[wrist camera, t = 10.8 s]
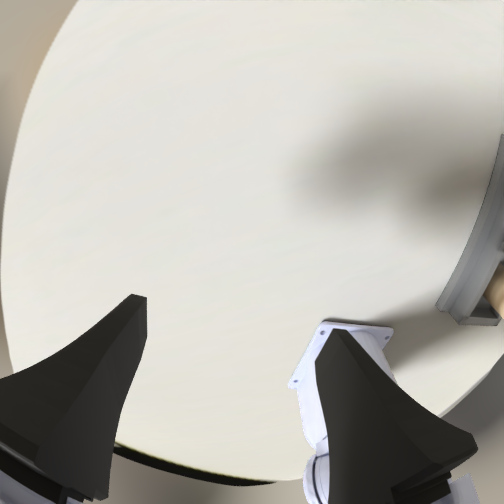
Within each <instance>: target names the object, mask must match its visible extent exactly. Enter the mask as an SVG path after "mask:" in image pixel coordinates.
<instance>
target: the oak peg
mask: <svg viewBox="0 0 504 504" xmlns="http://www.w3.org/2000/svg"><path fill="white" fill-rule="evenodd" d="M482 296H483V297H484V298H485V299H486V300H487V301H488V302H489V303H490V304H491V306H492V307H493V308H494V309H495V310H496V311H497V312H498V313H499V314H500V316H501V317H502V318H503V319H504V266H503V265H502V264H501V263H499V264H498V266H497V268H496V270H495V272H494V274H493V276H492V278H491V280H490V282H489V284H488V285H487V287H486V289H485V291H484V293H483V294H482Z"/></svg>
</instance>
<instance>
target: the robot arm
mask: <svg viewBox="0 0 504 504" xmlns="http://www.w3.org/2000/svg"><path fill="white" fill-rule="evenodd" d="M321 331H323V332H321ZM393 333H394V330H393V329H392V328H389V327H377V326H365V325H355V324H345V323H336V322H327V321H325V322H322V323H320V325H319V326H318V328H317V330H316V332H315V334H314V336H313V338H312V340H311V342H310V344H309V346H308V348H307V350H306V352H305V354H304V355H303V357H302V359H301V361H300V363H299V365H298V367H297V368H296V370H295V372H294V374H293V376H292V377H291V379H290V381H289V383H288V388H290V389H297V394H298V400H299V406H300V412H301V419H302V425H303V432H304V435H305V438H306V440H307V441H308V443H309V444H310V445H311V446H312V447H313V448H314V449H315V450H316V454H315V455H313V456H311V457H310V459H309V460H308V462H307V465H306V467H305V470H304V474H303V486H304V492H305V495H306V498H307V501H308V503H309V504H480V502H479V499H478V496H477V492H476V489H475V486H474V483H473V480H472V477H471V475H470V473H467V474H466V475H464V476H462V477H461V478H459V479H457V480H455V481H453V482H452V479H451V473H450V471H451V470H452V469H454V468H455V467H457V466H459V465H460V464H462V463H463V462H465V461H466V460H467V459H469V458H470V457H471V456H473V455H474V454H475V453H476V452H477V450H478V447H477V444H476V442H475V440H474V438H473V436H472V434H471V433H468V432H466V431H464V430H461V429H459V428H457V427H455V426H453V425H451V424H449V423H447V422H446V421H444V420H442V419H440V418H439V417H437V416H436V415H434V414H433V413H431V412H430V411H428V410H427V409H426V408H424V407H423V406H421V405H420V404H419V403H417V402H416V401H415V400H414V399H413V398H411V397H410V396H409V395H408V394H407V393H406V392H404V391H403V390H402V389H401V388H400V387H399V386H398V384H397V382H396V380H395V377H394V375H393V373H392V371H391V369H390V366H389V364H388V362H387V360H386V358H385V356H384V354H383V351H382V350H383V348H384V347H385V346H386V344H387V343H388V341H389V340H390V338H391V337H392V335H393ZM146 339H147V297H143V296H139V295H134V294H131V295H129V296H128V297H127V298H126V299H124V300H123V301H122V302H121V303H120V304H119V305H118V306H117V307H115V308H114V309H113V310H112V311H111V312H110V313H109V314H107V315H106V316H105V317H104V318H103V319H101V320H100V321H99V322H98V323H97V324H95V325H94V326H93V327H92V328H90V329H89V330H88V331H87V332H85V333H84V334H83V335H81V336H80V337H79V338H77V339H76V340H75V341H73V342H72V343H70V344H69V345H67V346H66V347H64V348H63V349H61V350H60V351H58V352H57V353H55V354H53V355H52V356H50V357H48V358H46V359H44V360H42V361H41V362H39V363H37V364H35V365H33V366H31V367H29V368H27V369H24V370H22V371H20V372H17V373H15V374H12V375H10V376H8V377H4V378H2V379H0V504H84V503H83V501H84V499H86V500H89V501H91V502H92V501H93V498H94V499H97V500H100V501H101V500H103V499H106V498H108V492H109V491H108V490H109V478H110V468H111V461H112V454H113V448H114V442H115V437H116V432H117V427H118V423H119V418H120V414H121V411H122V407H123V404H124V401H125V399H126V396H127V394H128V391H129V388H130V386H131V383H132V381H133V378H134V375H135V373H136V370H137V368H138V365H139V363H140V360H141V357H142V354H143V350H144V346H145V343H146Z"/></svg>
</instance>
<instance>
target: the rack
mask: <svg viewBox="0 0 504 504" xmlns="http://www.w3.org/2000/svg"><path fill="white" fill-rule="evenodd" d="M499 263H501V264H502V265H503V266H504V135H503V134H502V136H501V141H500V145H499V150H498V154H497V158H496V162H495V166H494V170H493V173H492V177H491V180H490V184H489V187H488V190H487V193H486V196H485V199H484V202H483V205H482V208H481V211H480V213H479V216H478V219H477V221H476V224H475V226H474V229H473V231H472V234H471V236H470V238H469V241H468V243H467V245H466V247H465V250H464V252H463V254H462V256H461V258H460V260H459V262H458V264H457V266H456V268H455V270H454V272H453V274H452V276H451V278H450V280H449V282H448V284H447V286H446V287H445V289H444V291H443V293H442V295H441V296H440V298H439V300H438V302H437V303H436V306H437V308H438V309H439V310H440V311H444V312H449V313H450V314H451V315H452V317H453V318H454V319H455V320H456V322H457V323H458V324H459V325H480V326H497V325H498V323H499V322H500V320H501V319H502V317H501V316H500V314H499V313H498V312H497V311H496V310H495V309H494V308H493V307H492V306H491V304H490V303H489V302H488V301H487V300H486V299H485V298H484V297H483V296H482V294H483V293H484V291H485V289H486V287H487V285H488V284H489V282H490V280H491V278H492V276H493V274H494V272H495V270H496V268H497V266H498V264H499Z"/></svg>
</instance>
